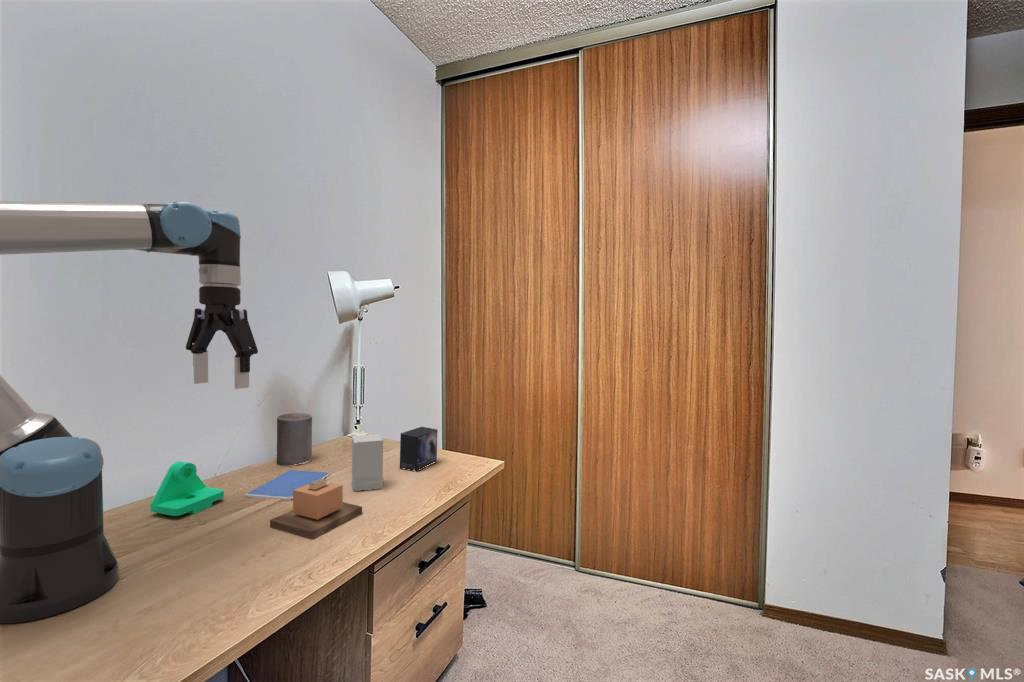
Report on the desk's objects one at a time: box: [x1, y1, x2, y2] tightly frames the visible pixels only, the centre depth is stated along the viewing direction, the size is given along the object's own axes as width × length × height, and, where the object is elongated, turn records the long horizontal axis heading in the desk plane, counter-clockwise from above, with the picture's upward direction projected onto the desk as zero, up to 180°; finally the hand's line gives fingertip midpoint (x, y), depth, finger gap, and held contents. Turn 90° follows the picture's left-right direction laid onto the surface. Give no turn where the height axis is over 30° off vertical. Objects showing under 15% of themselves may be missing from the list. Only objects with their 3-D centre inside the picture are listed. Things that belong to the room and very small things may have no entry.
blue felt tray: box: [244, 469, 331, 501], centre depth 123 cm, size 19×13×1 cm, turn 173°
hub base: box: [269, 478, 363, 540], centre depth 103 cm, size 14×12×8 cm
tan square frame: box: [292, 481, 344, 520], centre depth 103 cm, size 7×7×5 cm
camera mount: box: [150, 461, 225, 517], centre depth 108 cm, size 12×8×10 cm, turn 163°
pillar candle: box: [276, 411, 313, 466], centre depth 143 cm, size 10×10×15 cm
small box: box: [399, 426, 438, 472], centre depth 141 cm, size 11×6×10 cm, turn 154°
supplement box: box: [351, 433, 384, 492], centre depth 124 cm, size 7×7×13 cm
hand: (221, 385), depth 102 cm, fingers open, 13 cm apart
